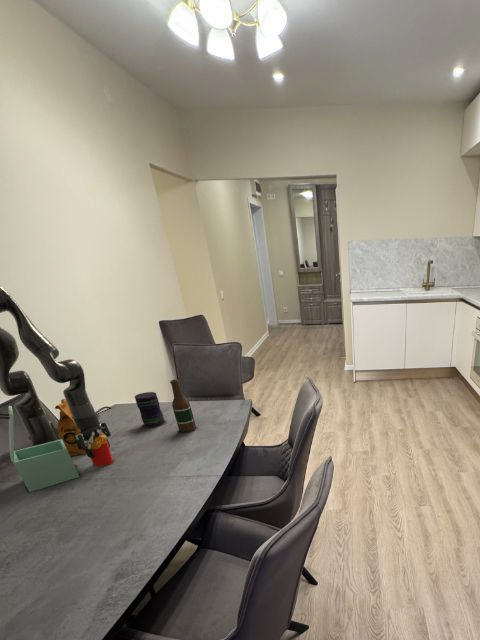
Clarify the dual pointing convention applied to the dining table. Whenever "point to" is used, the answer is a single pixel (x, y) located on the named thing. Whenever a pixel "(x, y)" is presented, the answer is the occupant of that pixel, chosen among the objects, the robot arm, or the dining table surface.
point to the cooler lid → (10, 431)
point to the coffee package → (68, 429)
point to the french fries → (101, 451)
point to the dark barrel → (149, 409)
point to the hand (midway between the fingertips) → (99, 452)
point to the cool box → (44, 465)
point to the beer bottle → (182, 409)
